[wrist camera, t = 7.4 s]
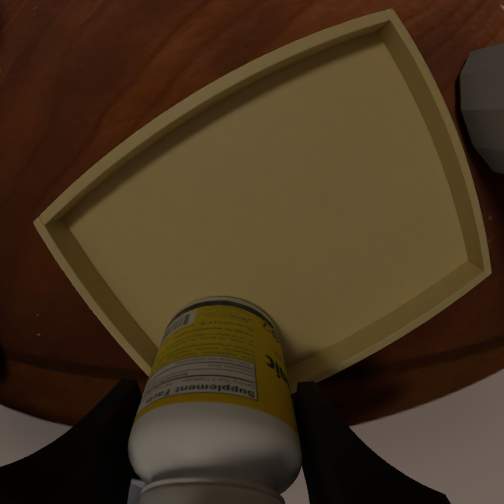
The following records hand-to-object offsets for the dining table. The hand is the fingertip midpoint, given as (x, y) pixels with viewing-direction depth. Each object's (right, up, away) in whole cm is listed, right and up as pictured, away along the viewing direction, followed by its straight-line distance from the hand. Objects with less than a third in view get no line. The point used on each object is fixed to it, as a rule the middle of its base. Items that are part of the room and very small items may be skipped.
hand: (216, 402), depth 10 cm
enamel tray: (+3, +6, +3) cm, 7 cm away
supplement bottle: (0, +1, +4) cm, 4 cm away
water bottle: (+15, +14, +1) cm, 20 cm away
